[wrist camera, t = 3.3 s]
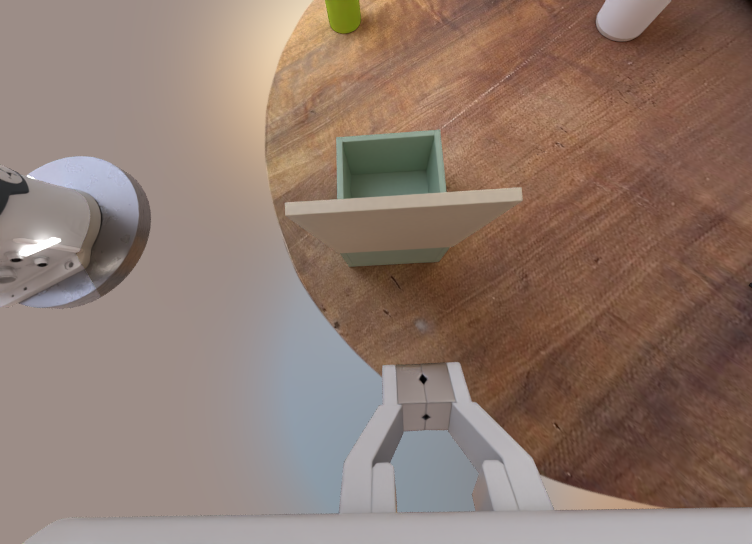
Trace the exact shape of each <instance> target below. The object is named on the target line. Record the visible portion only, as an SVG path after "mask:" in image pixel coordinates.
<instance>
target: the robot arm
mask: <svg viewBox="0 0 752 544" xmlns="http://www.w3.org/2000/svg"><path fill="white" fill-rule="evenodd" d="M100 225H101V213H100V209H99V206H98V204H97V202H96V201H95V199H94V198H93V197H92V196H91V195H89V194H88V193H86V192H84V191H81V190H77V189H71V188H66V187H61V186H57V185H53V184H50V183H46V182H43V181H40V180H36V179H34V178H32V177H30V176H28V175H27V176H24V175H21V174H19V173H18V172H16V171H14V170H12V169H10V168H7V167H5V166H3V165H1V164H0V307H6V308H8V307H11V306H13V305H15V304H17V303H19V302H21V301H23V300H25V299H27V298H29V297H31V296H33V295H35V294H37V293H39V292H41V291H43V290H45V289H47V288H49V287H50V286H52V285H54V284H56V283H58V282H60V281H62V280H64V279H66V278H68V277H70V276H72V275H74V274H76V273H78V272H80V271H82V270H84V269H85V268H87V266H88V265H89V263H90V258H91V249H92V246H93V244H94V242H95V240H96V238H97V235H98V233H99V230H100ZM382 382H383V383H382V384H383V385H382V386H383V405H379V406H378V408H377V409H376V411H375V413H374V414H373V416H372V417H371V419H370V421H369V422H368V424H367V425H366V427H365V429H364V430H363V432H362V434H361V435H360V437H359V439H358V440H357V442H356V443H355V445H354V447H353V448H352V450H351V451H350V453H349V455H348V456H347V458H346V459H345V461H344V466H343V476H342V487H341V497H340V507H339V514H274V515H207V516H149V517H148V516H146V517H145V516H142V517H72V518H64V519H59V520H57V521H55V522H52V523H51V524H49V525H48V526H46V527H45V528H43V529H42V530H40V531H39V532H37V533H36V534H34V535H33V536H31V537H30V538H29V539H27V540H26V541H25V542H23V543H22V544H752V507H738V508H671V509H610V510H609V509H608V510H607V509H606V510H554V508H553V506H552V503H551V501H550V499H549V496H548V494H547V491H546V489H545V487H544V484H543V482H542V479H541V477H540V475H539V472H538V470H537V468H536V465H535V463H534V460H533V458H532V457H531V456H530V455H529V454H528V453H527V452H526V451H525V450H524V449H523V448H522V447H521V446H520V445H519V444H518V443H517V442H516V441H515V440H514V439H513V438H512V437H511V436H510V435H509V434H508V433H507V432H506V431H505V430H504V429H503V428H502V427H501V426H500V425H499V424H498V423H497V422H496V421H495V420H494V419H493V418H492V417H491V416H489V415H488V414H487V413H486V412H485V411H484V410H483V409H482V408H481V407H480V406H479V405H478V404H477V403H476V402H472V401H471V397H470V394H469V391H468V388H467V384H466V381H465V378H464V375H463V371H462V368H461V365H460V363H459V362H450V363H445V362H442V363H425V364H408V365H396V367H395V365H383V367H382ZM418 430H448V432H449V433H450V434H451V436H452V437H453V439H454V440H455V441H456V443H457V444H458V445H459V447H460V448H461V449H462V451H463V452H464V454H465V455H466V456H467V458H468V459H469V460H470V462H471V463H472V464H473V466H474V467H475V468H476V470H477V471H478V473H479V475H478V478H477V481H476V484H475V487H474V490H473V493H472V497H473V501H474V505H475V510H476V511H475V512H474V511H473V512H472V511H471V512H407V513H406V512H405V513H397V501H396V488H395V475H394V467H393V466H392V465H391V464H390V461H391V459H392V457H393V455H394V453H395V450H396V448H397V446H398V444H399V441H400V439H401V437H402V435H403V431H418Z"/></svg>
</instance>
